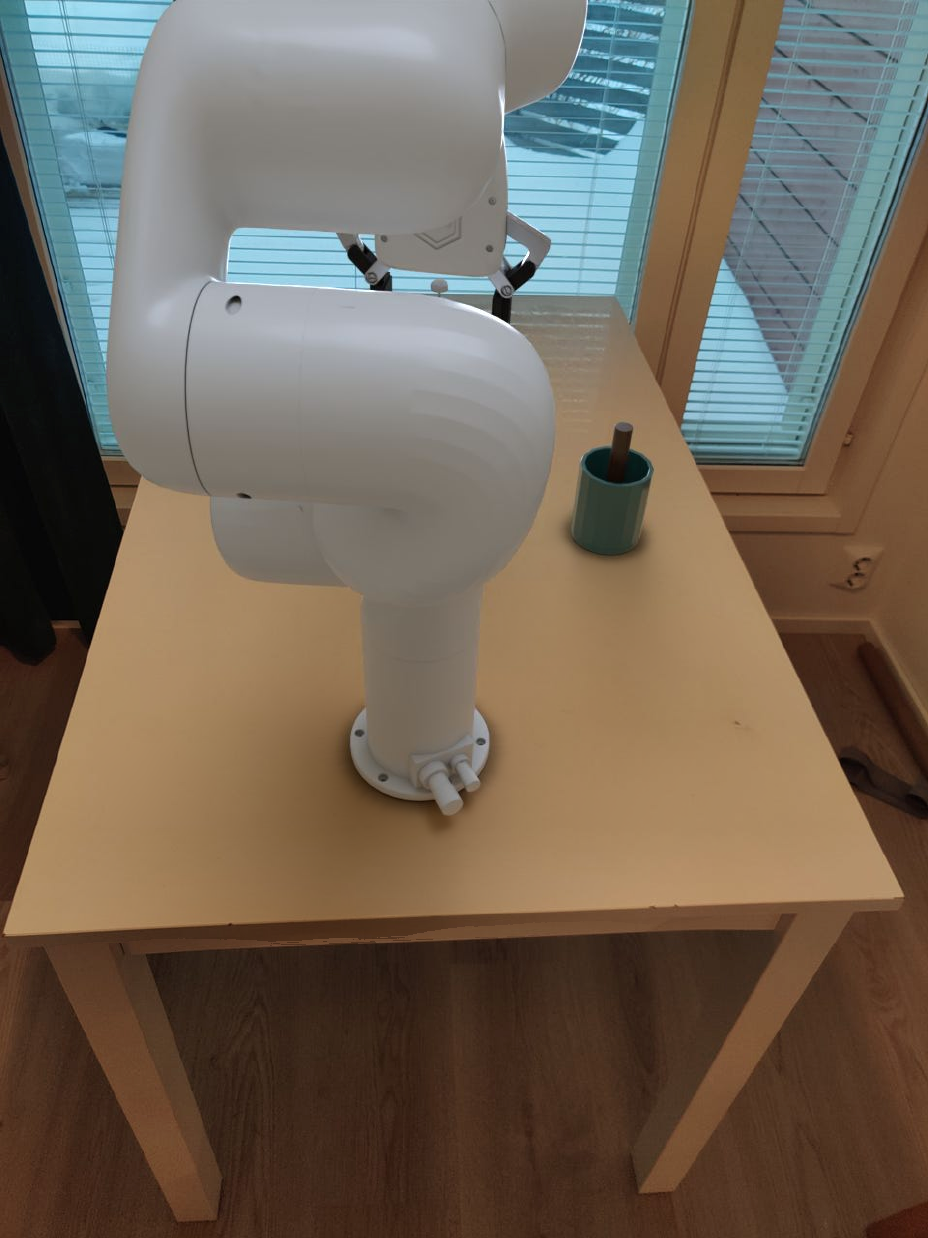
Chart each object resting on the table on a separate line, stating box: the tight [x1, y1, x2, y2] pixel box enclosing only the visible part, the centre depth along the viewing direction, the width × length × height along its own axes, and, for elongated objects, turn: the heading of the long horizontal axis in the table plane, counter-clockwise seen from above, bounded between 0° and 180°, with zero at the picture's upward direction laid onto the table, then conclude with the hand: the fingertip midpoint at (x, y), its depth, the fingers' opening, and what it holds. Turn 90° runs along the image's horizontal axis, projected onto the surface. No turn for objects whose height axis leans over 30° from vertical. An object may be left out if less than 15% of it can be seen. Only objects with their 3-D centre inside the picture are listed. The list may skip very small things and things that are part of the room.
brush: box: [606, 421, 634, 484], centre depth 104 cm, size 4×4×14 cm
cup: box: [570, 445, 655, 556], centre depth 106 cm, size 8×8×10 cm
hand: (440, 330), depth 79 cm, fingers open, 9 cm apart
